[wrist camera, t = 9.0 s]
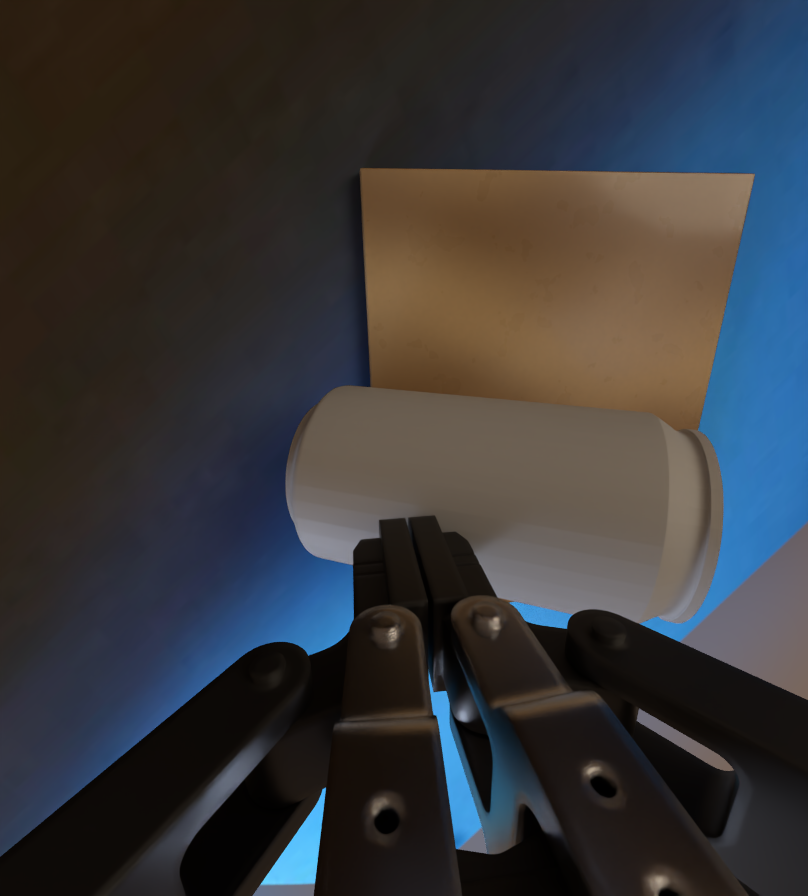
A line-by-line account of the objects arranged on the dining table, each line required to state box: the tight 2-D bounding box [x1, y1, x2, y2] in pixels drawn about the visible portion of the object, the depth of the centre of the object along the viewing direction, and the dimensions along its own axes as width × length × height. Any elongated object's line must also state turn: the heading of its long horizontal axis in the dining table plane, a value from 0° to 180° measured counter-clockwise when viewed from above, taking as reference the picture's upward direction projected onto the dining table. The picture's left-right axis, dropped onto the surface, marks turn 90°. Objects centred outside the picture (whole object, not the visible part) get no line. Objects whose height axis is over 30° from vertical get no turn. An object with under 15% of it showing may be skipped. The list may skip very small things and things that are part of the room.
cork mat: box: [360, 168, 755, 602], centre depth 19 cm, size 20×16×1 cm
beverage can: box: [286, 385, 723, 624], centre depth 14 cm, size 6×6×12 cm
